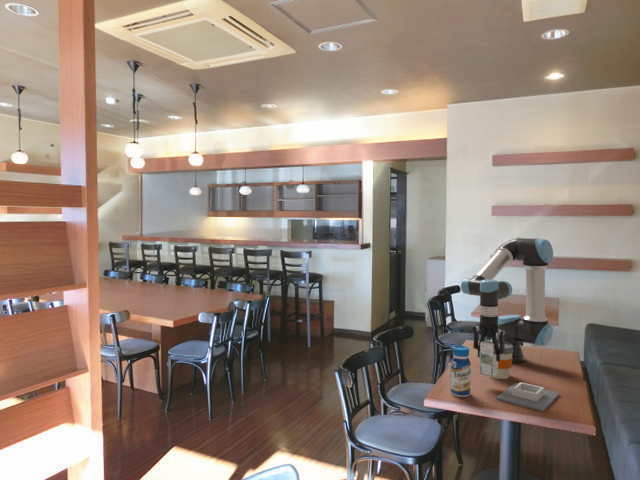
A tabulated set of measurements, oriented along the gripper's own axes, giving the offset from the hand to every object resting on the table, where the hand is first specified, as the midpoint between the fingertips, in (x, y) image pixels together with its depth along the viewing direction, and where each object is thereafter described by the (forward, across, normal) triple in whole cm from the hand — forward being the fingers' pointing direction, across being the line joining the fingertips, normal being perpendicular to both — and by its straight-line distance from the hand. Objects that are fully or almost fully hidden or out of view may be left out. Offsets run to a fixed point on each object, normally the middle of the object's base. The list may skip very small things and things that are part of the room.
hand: (488, 366), depth 199 cm
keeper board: (+9, +17, -1) cm, 19 cm away
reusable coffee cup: (+10, -2, +17) cm, 20 cm away
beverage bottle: (+9, -6, -16) cm, 19 cm away
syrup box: (+4, 0, 0) cm, 4 cm away
